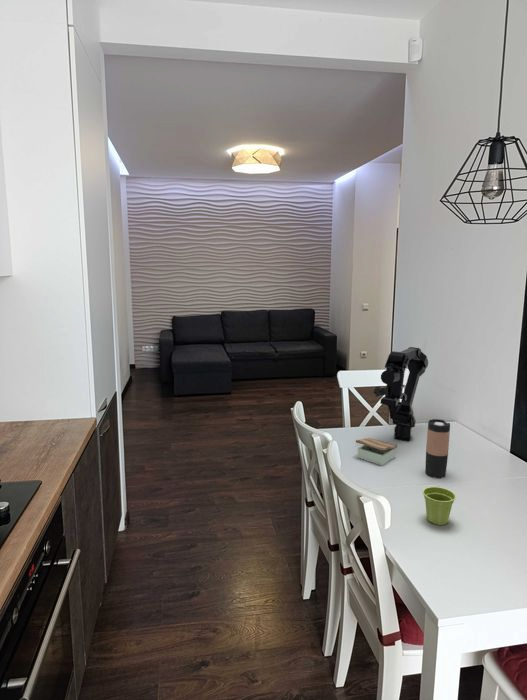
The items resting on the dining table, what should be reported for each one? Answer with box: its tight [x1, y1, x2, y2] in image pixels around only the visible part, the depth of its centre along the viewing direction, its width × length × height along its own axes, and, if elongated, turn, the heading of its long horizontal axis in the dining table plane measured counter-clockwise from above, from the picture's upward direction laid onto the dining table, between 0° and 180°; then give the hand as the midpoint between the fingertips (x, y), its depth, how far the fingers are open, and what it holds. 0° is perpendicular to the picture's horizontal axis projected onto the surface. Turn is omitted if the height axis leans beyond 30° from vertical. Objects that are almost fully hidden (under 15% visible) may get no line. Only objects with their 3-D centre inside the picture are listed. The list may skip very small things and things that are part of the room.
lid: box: [355, 437, 398, 450], centre depth 187 cm, size 12×12×1 cm
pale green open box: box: [357, 444, 396, 466], centre depth 188 cm, size 10×11×4 cm
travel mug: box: [424, 418, 451, 479], centre depth 172 cm, size 8×8×20 cm
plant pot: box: [422, 486, 457, 526], centre depth 143 cm, size 9×9×9 cm
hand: (391, 418), depth 196 cm, fingers closed
